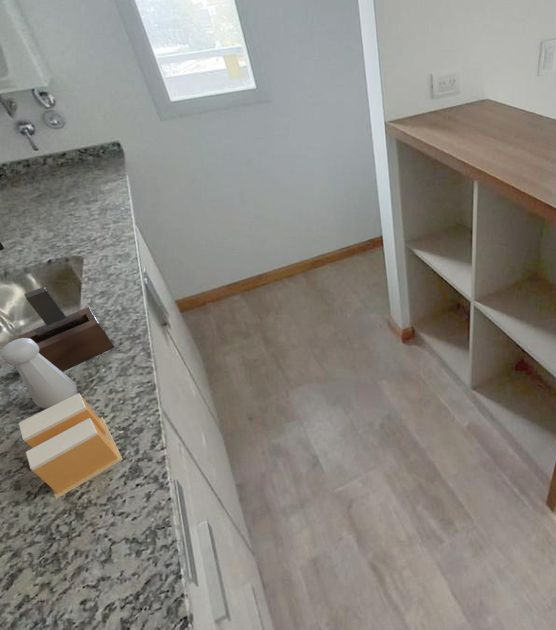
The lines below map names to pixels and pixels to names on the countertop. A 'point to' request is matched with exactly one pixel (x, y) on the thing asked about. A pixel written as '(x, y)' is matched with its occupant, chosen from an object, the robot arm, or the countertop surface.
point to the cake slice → (71, 455)
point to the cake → (64, 428)
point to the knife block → (73, 343)
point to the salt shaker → (38, 373)
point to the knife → (51, 314)
